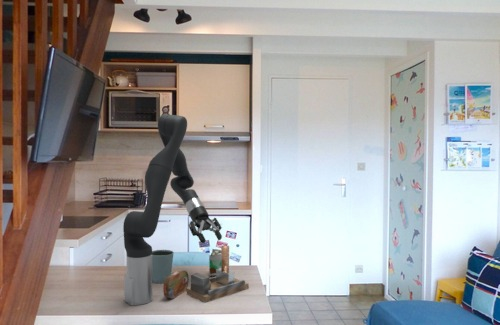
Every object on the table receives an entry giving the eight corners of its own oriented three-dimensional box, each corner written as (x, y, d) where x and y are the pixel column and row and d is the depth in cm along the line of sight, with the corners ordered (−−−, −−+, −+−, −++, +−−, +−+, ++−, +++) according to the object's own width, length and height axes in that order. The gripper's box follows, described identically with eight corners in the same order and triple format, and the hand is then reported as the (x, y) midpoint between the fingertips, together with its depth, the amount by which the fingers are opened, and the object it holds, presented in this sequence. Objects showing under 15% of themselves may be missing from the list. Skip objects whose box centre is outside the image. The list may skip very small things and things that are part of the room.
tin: (168, 301, 142) (168, 279, 142) (161, 300, 143) (161, 278, 143) (189, 288, 156) (189, 268, 156) (182, 287, 157) (182, 267, 157)
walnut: (205, 291, 147) (205, 282, 147) (200, 289, 150) (200, 280, 150) (213, 289, 150) (213, 280, 149) (207, 287, 152) (207, 278, 152)
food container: (223, 278, 169) (223, 256, 168) (209, 278, 169) (209, 255, 169) (225, 269, 181) (225, 248, 181) (212, 269, 181) (212, 248, 181)
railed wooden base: (205, 302, 142) (205, 281, 141) (186, 293, 150) (186, 273, 150) (248, 288, 157) (248, 268, 157) (229, 280, 165) (229, 262, 165)
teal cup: (145, 279, 167) (145, 252, 167) (166, 274, 174) (166, 248, 173) (156, 285, 159) (156, 256, 159) (177, 280, 166) (177, 252, 166)
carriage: (228, 286, 152) (228, 248, 151) (215, 281, 158) (216, 245, 157) (234, 284, 154) (234, 247, 154) (221, 279, 160) (222, 243, 160)
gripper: (186, 206, 163) (202, 238, 155) (213, 203, 173) (229, 233, 165) (179, 217, 167) (194, 248, 159) (206, 214, 177) (221, 243, 169)
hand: (212, 240), depth 162 cm, fingers open, 8 cm apart
